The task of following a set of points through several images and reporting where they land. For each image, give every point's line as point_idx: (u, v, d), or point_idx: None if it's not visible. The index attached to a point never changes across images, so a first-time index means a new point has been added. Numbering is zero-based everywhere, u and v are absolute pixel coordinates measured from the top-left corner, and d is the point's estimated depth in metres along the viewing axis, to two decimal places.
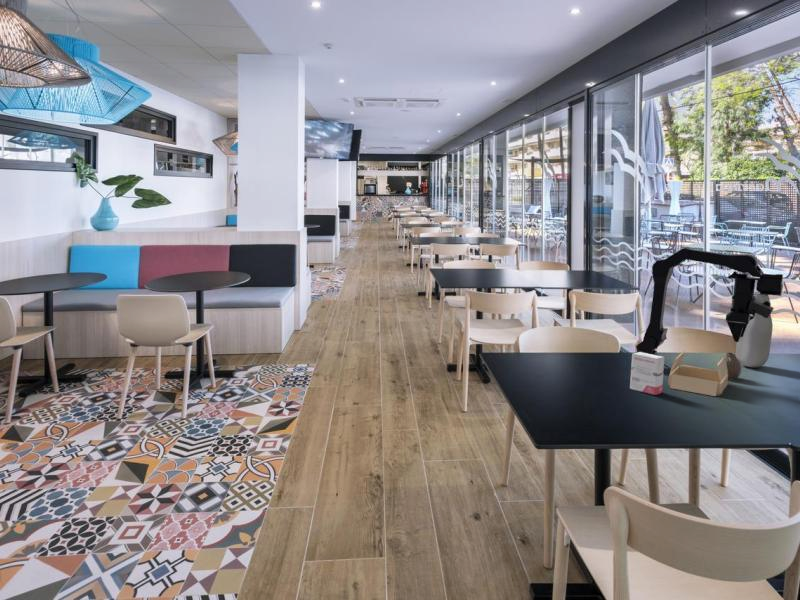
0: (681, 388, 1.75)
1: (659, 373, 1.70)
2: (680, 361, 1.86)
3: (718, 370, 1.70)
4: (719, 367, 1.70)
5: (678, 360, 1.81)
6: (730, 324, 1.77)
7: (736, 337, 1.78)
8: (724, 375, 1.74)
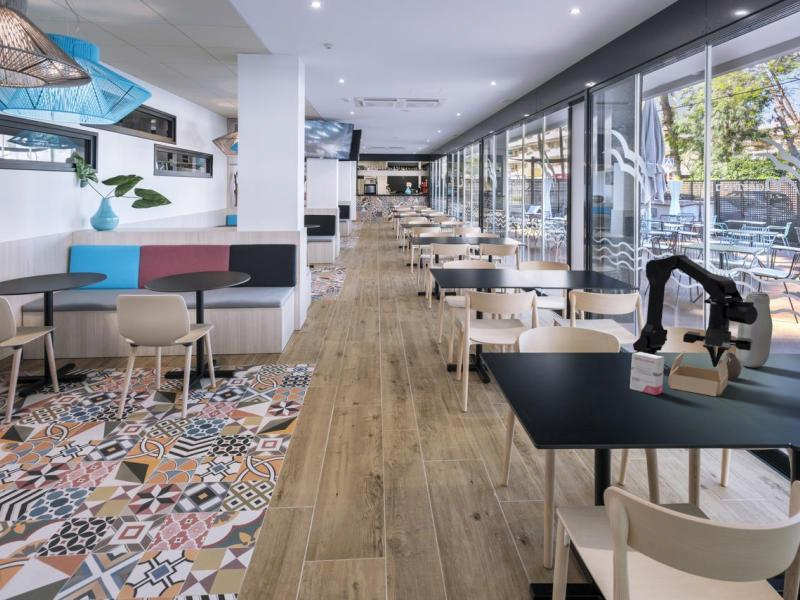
0: (681, 388, 1.75)
1: (659, 373, 1.70)
2: (680, 361, 1.86)
3: (718, 370, 1.70)
4: (719, 367, 1.70)
5: (678, 360, 1.81)
6: None
7: None
8: (724, 375, 1.74)
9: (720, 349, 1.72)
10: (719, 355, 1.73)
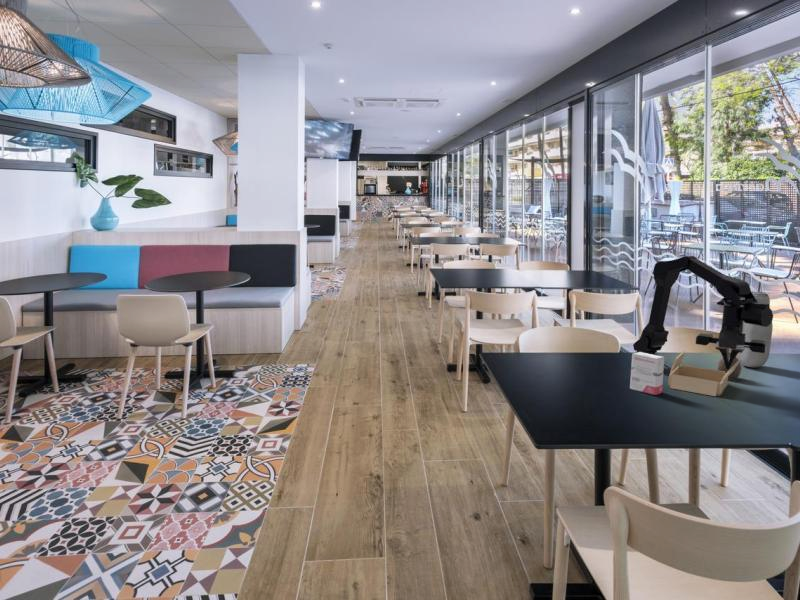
0: (681, 388, 1.75)
1: (659, 373, 1.70)
2: (680, 361, 1.86)
3: (729, 373, 1.68)
4: (732, 371, 1.68)
5: (678, 360, 1.81)
6: None
7: None
8: None
9: (734, 351, 1.70)
10: (732, 357, 1.71)
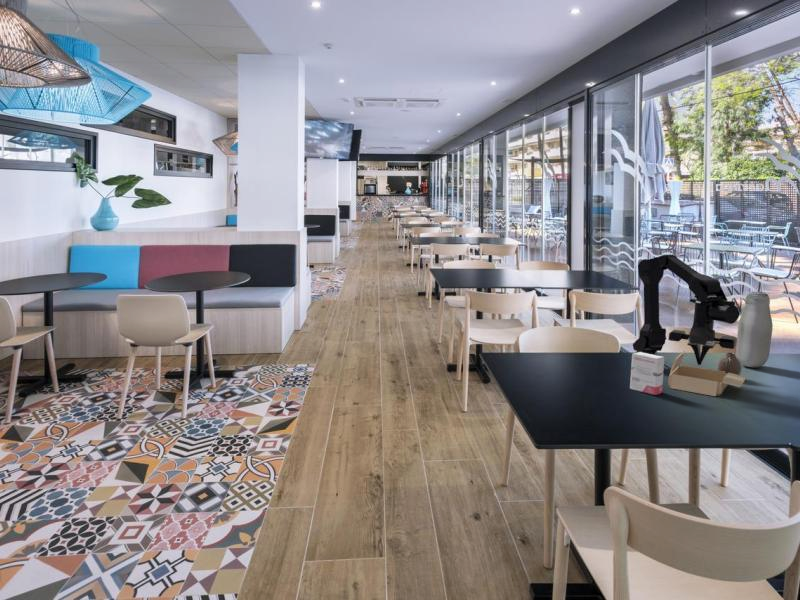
0: (681, 388, 1.75)
1: (659, 373, 1.70)
2: (680, 361, 1.86)
3: (734, 384, 1.68)
4: (737, 386, 1.68)
5: (678, 360, 1.81)
6: None
7: None
8: None
9: (704, 347, 1.75)
10: (703, 353, 1.76)
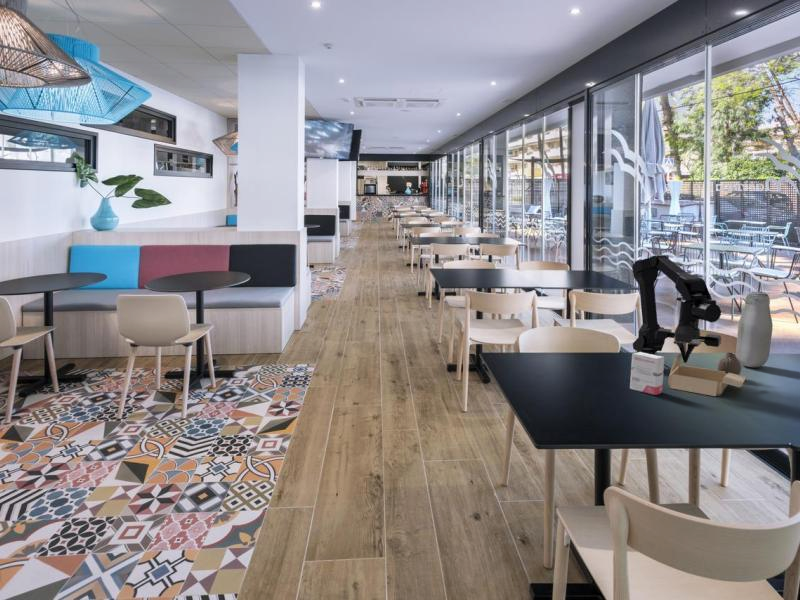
0: (681, 388, 1.75)
1: (659, 373, 1.70)
2: (680, 361, 1.86)
3: (734, 384, 1.68)
4: (737, 386, 1.68)
5: (678, 360, 1.81)
6: None
7: None
8: None
9: (690, 345, 1.77)
10: (689, 351, 1.79)
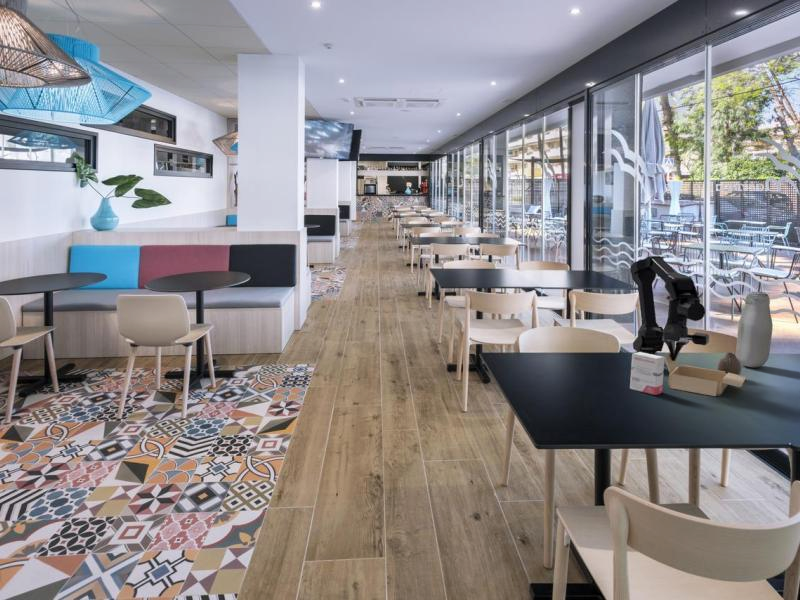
0: (681, 388, 1.75)
1: (659, 373, 1.70)
2: (676, 360, 1.87)
3: (734, 384, 1.68)
4: (737, 386, 1.68)
5: (670, 359, 1.83)
6: None
7: None
8: None
9: (678, 344, 1.79)
10: (677, 350, 1.81)
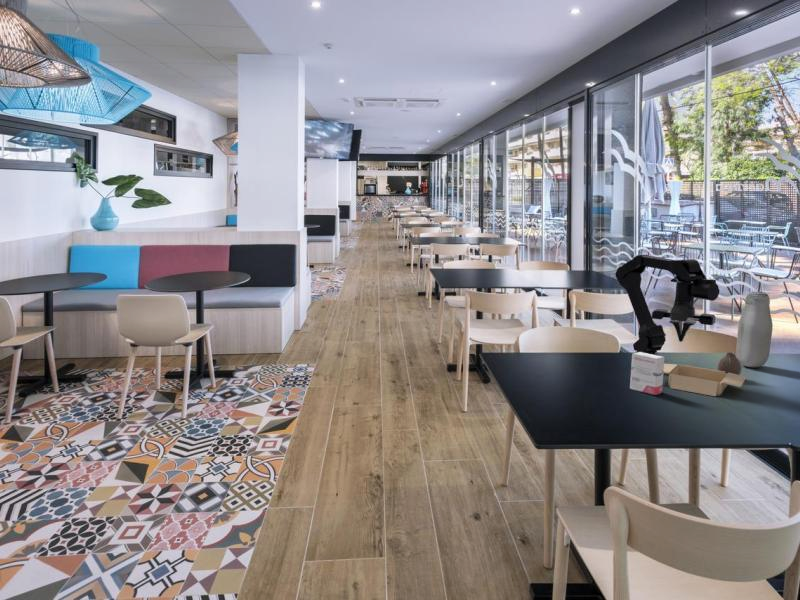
0: (681, 388, 1.75)
1: (659, 373, 1.70)
2: (671, 365, 1.88)
3: (734, 384, 1.68)
4: (737, 386, 1.68)
5: None
6: None
7: None
8: None
9: (685, 324, 1.84)
10: (684, 330, 1.85)
